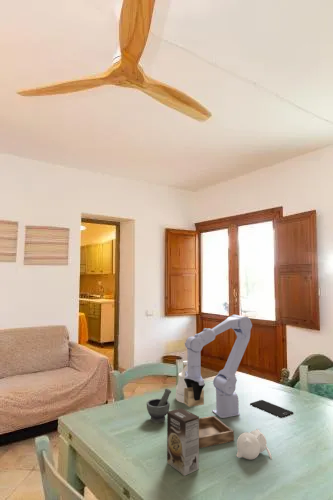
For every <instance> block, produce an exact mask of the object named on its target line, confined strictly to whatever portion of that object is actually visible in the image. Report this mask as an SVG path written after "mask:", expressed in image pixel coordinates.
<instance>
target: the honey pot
mask: <svg viewBox="0 0 333 500" xmlns="http://www.w3.org/2000/svg"><path fill="white" fill-rule="evenodd" d="M182 364H183V365H184V367H183V369H182V371H181V372H179V373H178V377H179V379H178V380H177V385H176V387H175V390H176V391H175V401H177V402H179V403H182V404H185V403H184V388H187V385H186V383H185V381H184V379H185V371H187V360H183V361H182Z"/></svg>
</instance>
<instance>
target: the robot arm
mask: <svg viewBox="0 0 333 500" xmlns="http://www.w3.org/2000/svg"><path fill="white" fill-rule="evenodd" d="M252 328H253V323H252V321H251V319H250V318H249V316H244V315H238V314H232V315H230V316H228V317H227V318H226V319H225V320H223V321H222V322H220V323H219V324H216V325H215V326H214V327H211V328H206V327H204V328H203V329H202V331H201V332H199V333H195V334H194V336H188V337H187V339H186V341H185V342H184V346H185V348H186V349H187V351H186V352H187V358H186V361H187V371H185V379H184V381H185V383H186V385H187V388H189V387H192V388H193V392H194V399H195V401H196V400H200V396H201V392H202V389H203V390H204V387H205V385H206V384H205V379H204V378H203V377H202V374H201V373H202V371H201V370H202V366H201V364H202V363H201V362H202V361H201V359H202V356H201V351H202V350H203V347H205V346H207V345H208V344H210V343H211V342H213V341H214V340H215V339H216V336H218V335H220V334H221V333H224V332H226V331H227V330H230V329H232V330H233V332H234V334H235V335H236V339H235V341H234V344H233V346H232V348H231V351H230V352H229V355H228V357H227V361H226V362H225V365H224V367H223V369H221V370H219V371H218V373H217V375H215V376H214V378H213V381H212V384H213V387H214V388H215V395H216V396H215V401H216V402H215V404H216V405H215V406H216V407H215V409H212V412H213V413H214V414H215V415H216V416H218V417H219V418H220V419H225V418H230V417H235V416H240V411H239V409H240V408H239V404H240V403H239V397H238V394H237V393H236V391H235V390H236V384H237V381H238V380H237V376H236V373H237V371H238V369H239V366H240V363H241V361H242V359H243V357H244V354H245V352H246V349H247V346H248V345H249V342H250V338H251V330H252Z"/></svg>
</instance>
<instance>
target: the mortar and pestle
mask: <svg viewBox="0 0 333 500" xmlns="http://www.w3.org/2000/svg"><path fill="white" fill-rule="evenodd" d="M171 393H172V390H171V389H169V388H165V389H164V393H163V395H162V396H161V398H151V399H150V400H148V401H146V409H147V412H148V414H149V416H150V421H151V423H156V424H161V423H164V422H165V421H166V416H167V412H168V411H170V407H171V406H170V405H171V404H170V402H169V397H170V395H171Z"/></svg>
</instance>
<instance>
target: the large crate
mask: <svg viewBox="0 0 333 500" xmlns="http://www.w3.org/2000/svg"><path fill="white" fill-rule="evenodd" d="M234 432H235V431H234V430H233V429H232V428H231V427H230V426H227V424H225V423H224V422H223V421H222V420H221V419H219V418H218V417H216V416H215V415H210V416H205V417H204V416H203V417H199V449H203V448H208V447H213V446H218V445H221V444H226V443H227V444H228V443H230V442H231V443H233V442H235V433H234Z"/></svg>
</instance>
